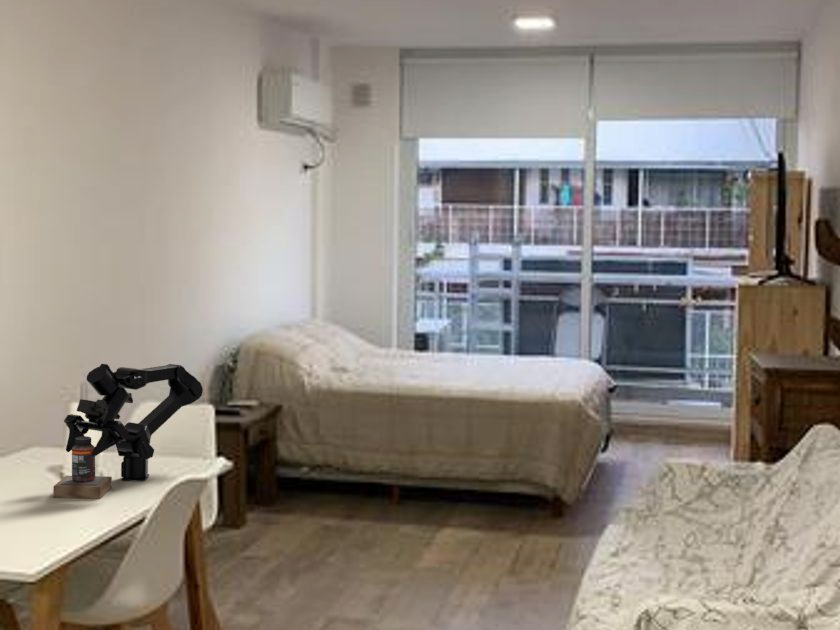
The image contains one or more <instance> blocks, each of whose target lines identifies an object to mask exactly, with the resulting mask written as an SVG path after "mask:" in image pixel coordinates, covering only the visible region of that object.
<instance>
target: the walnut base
mask: <svg viewBox="0 0 840 630" xmlns="http://www.w3.org/2000/svg"><path fill="white" fill-rule="evenodd" d="M112 481H113V480H112V476H108V475H107V476H102V475H100V476H99V475H97V476H96V475H95V479H94V480H92V481H88V482H76V481H73V480H72V475H65V476H64V477H63V478H62V479H60V480H59V481H58V482H57V483H55V485H53V487H52V488H53V496H52V497H53V498H57V499H58V498H59V499H102V498H103V497H104V495H105V494H107V493H108V492H109V491H110V490H111V489H112V488H113V487H112V486H113V485H112Z"/></svg>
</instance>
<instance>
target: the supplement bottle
mask: <svg viewBox="0 0 840 630" xmlns="http://www.w3.org/2000/svg"><path fill="white" fill-rule="evenodd" d="M75 443H76V445H75V446H73V447H72V450H71V476H72V480H73V481H76V482H88V481H92V480H94V479H95V476H96V456H95V457H94V456H93V455H92V452H93V450H94V448H95V446H94V445H93V444H92V437H91V436H86V435H84V436H82V437H77V438H76V442H75Z"/></svg>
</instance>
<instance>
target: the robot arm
mask: <svg viewBox="0 0 840 630" xmlns="http://www.w3.org/2000/svg"><path fill="white" fill-rule="evenodd" d="M86 381H87V382H88V383H89V385H90V386H91V387H92V389H93V390H94V391H95V392H96V393H97V395H99V396H103V397H102V399H99V398H98V399H97V400H90V399H89V400H88V399H82V398H80V400H79V402H78V405H77V408H76V411H77V412H80V413H82V414H84V417H85V419H87V420H88V421H86V420H85V419H84V418H83V417H82V416H81V415H79V414H67V416H66V417H65V418H64V420H63V422H64V423H65V426H66V427H67V428H68V430H69V431H68V439H67V442H66V443H67V444H66V447H65V451H66V452H67V453H70V452H72V447H73V446H75V445H76V443H75V442H76V438H77V437H82V436H85V434H86V435H87V433H88V432H89V430H92V431H97V432H101V436H100V437H99V439H98V441H97V444H95V446H94V447H95V448H94V450H93V452H92V455H93V456H94V457H95V458H96V456H98V455H100V454H101V453H103V452H105V451H106V450H108V449H110V448H111V447H114V446H115V447H116V450H117V454H118V456H119V457H123V458H122V459H123V460H122V462H121V465H120V477H121V481H129V482H130V481H135V482H136V481H138V482H139V481H140V482H143V481H144V482H145V481H146V480H147V479H148V478H149V477H150V474H149V459H151V458H153V456H154V453H155V449H154V447H153V446H152V445H151V444H150V443H151V439H152V435H153V434H155V432H156V431H157V430H159V429H160V428H161V427H162V426H163V425H164V424H165V423H166V422H167V421H168V420H169V419H170V418H171V417H172V416H173V415H174V414H175V413H177V412H178V411H179V410H180V409H181V408H183V407H185V406H188V405H191V404H193V403H195V402H197V401H198V400H199V399H201V397H202V395H203V390H204V389H203V386H202V383H201V382H200V381H199V380H198V379H197V378H196V377H195V376H194V375H192V374H191V373H190V372H188V371H187V370H186V368H185V367H184V366H183V365H181V364H175V363H169V364H166V365H158V366H153V367H145V368H134V367H125V366H124V367H123V366H121V367H118V368H116V371H114V372H113V370H112V369H111V368H110V366H109V365H108V364H107V363H101V364H100V365H99V366H97V367H95V368H93V369H92V370H90V371H89V372H88V374H87V376H86ZM162 381H167V385H168V386H169V393H168V396H167V397H165V399H164V400H162V402H160V403H159V404H158V405H157V406H155V407H154V408H153V410H152V411H150V412H149V413H148V414H147V415H145V416H144V418H143V419H141V420H140V422H138V423H136V422H127V423H125V424H123V422H122V421H120V420H119V419H120V418H121V416H120V412H121V410H122V409H123V408H124V407H123V406H124V405H125V404H127V403H129V404H133V403H134V399H133V394H132V392H128V391H127V390H126V389H128V390H136V391H137V390H140V389H142V388H144V387H146V386H147V384H150V383H155V382H162Z"/></svg>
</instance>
